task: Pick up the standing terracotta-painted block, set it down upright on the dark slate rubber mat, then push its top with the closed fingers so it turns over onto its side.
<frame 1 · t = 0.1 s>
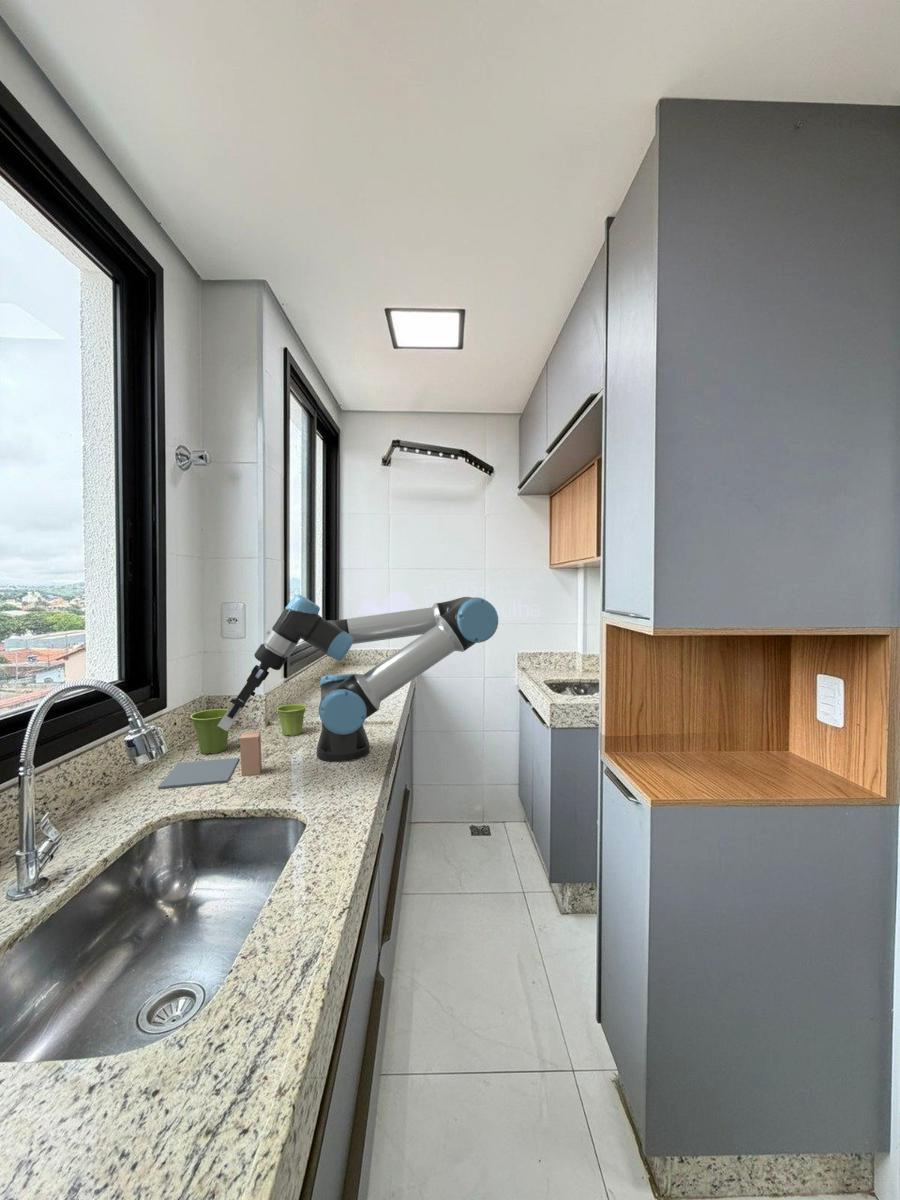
hand: (227, 721, 139), 15 cm above the countertop, tool tilted 35°, fingers open, 13 cm apart
plant pot 2: (213, 751, 164), on the countertop
plant pot: (292, 734, 181), on the countertop
mat: (201, 773, 145), on the countertop
block: (251, 772, 145), on the countertop
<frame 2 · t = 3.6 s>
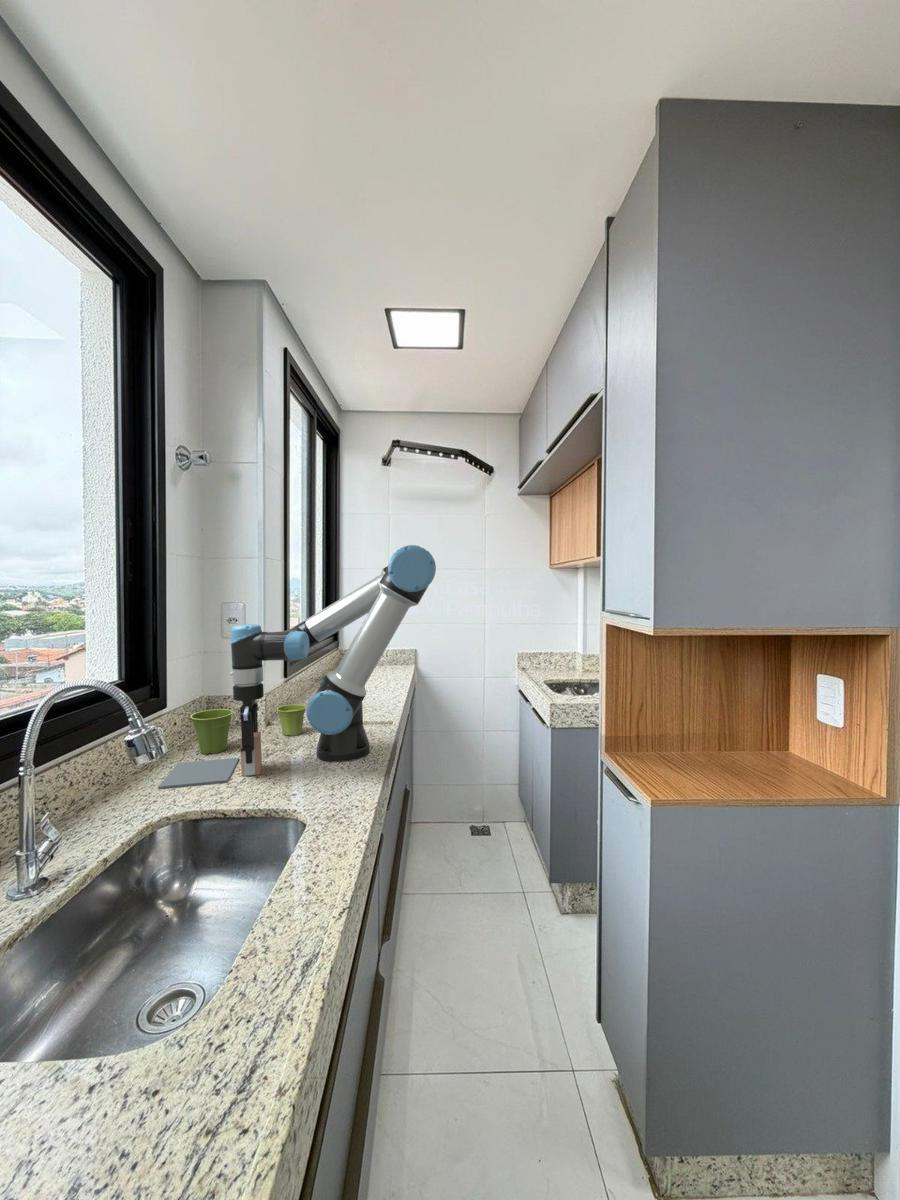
hand: (251, 771, 145), 0 cm above the countertop, tool pointing down, fingers closed on block, 4 cm apart
block: (251, 772, 145), on the countertop, touching gripper
everything else where it was.
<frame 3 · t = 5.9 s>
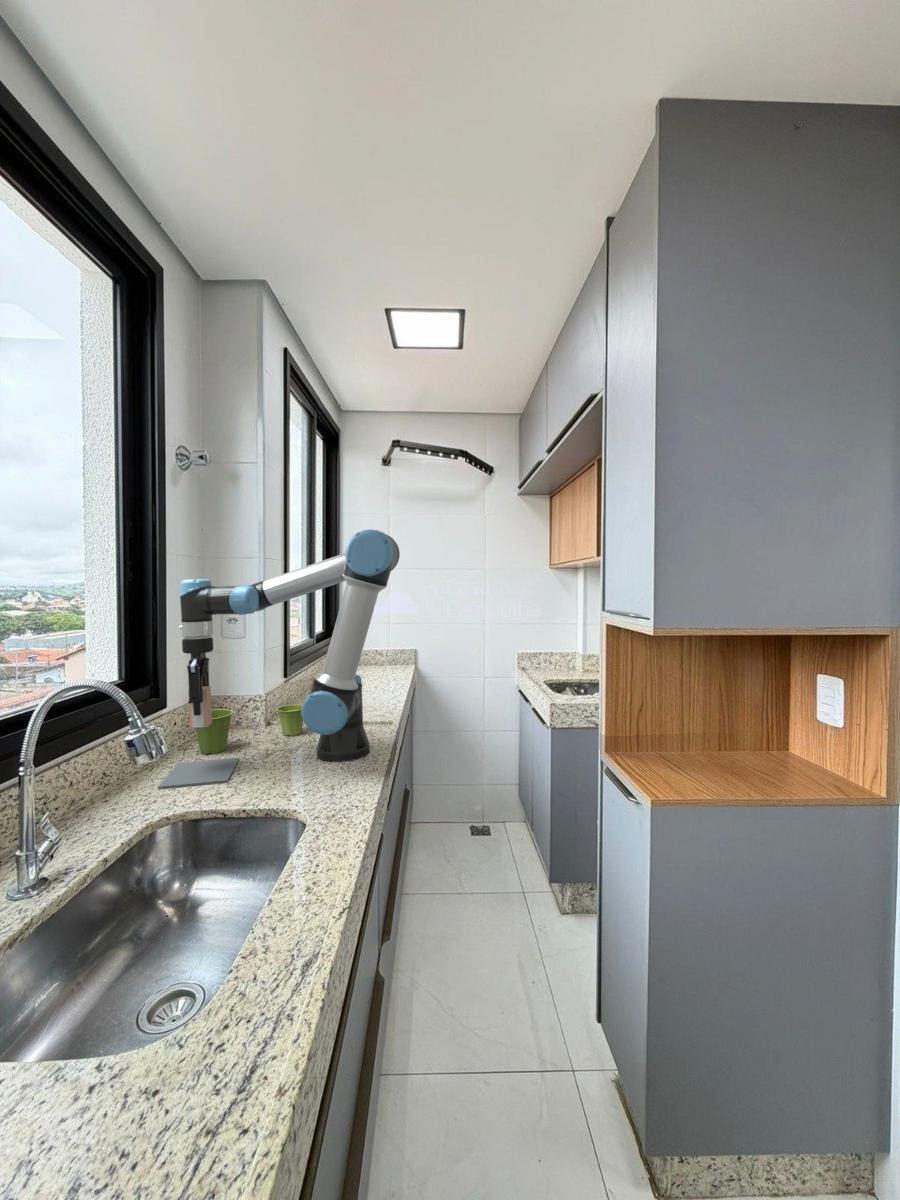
hand: (201, 724, 146), 13 cm above the countertop, tool pointing down, fingers closed on block, 4 cm apart
block: (201, 725, 146), point 12 cm above the countertop, touching gripper
everything else where it was.
when the fingers open (2 cm above the countertop, at t = 8.3 s): block drops 1 cm, resting on mat.
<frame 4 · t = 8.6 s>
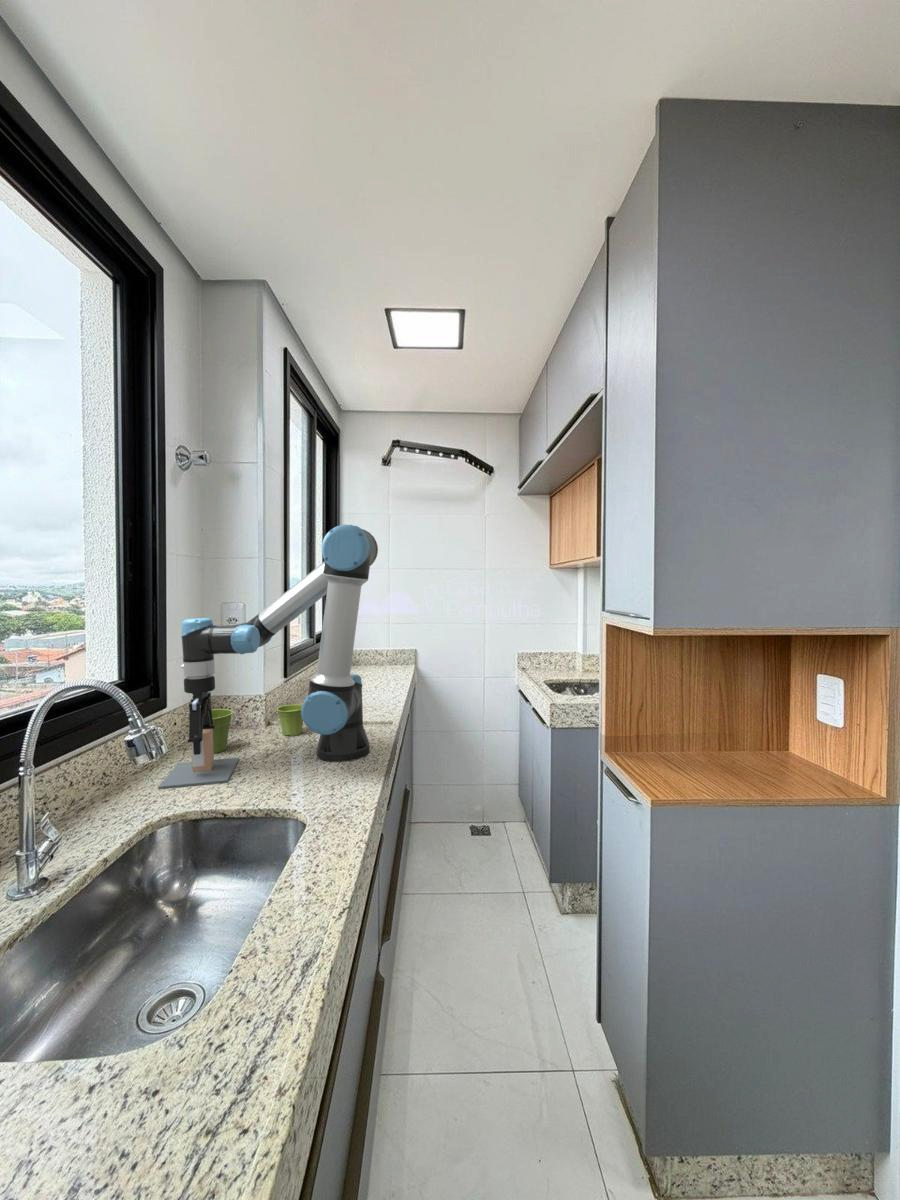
hand: (202, 759, 147), 3 cm above the countertop, tool pointing down, fingers open, 9 cm apart
block: (203, 768, 147), point 1 cm above the countertop, touching mat
everything else where it was.
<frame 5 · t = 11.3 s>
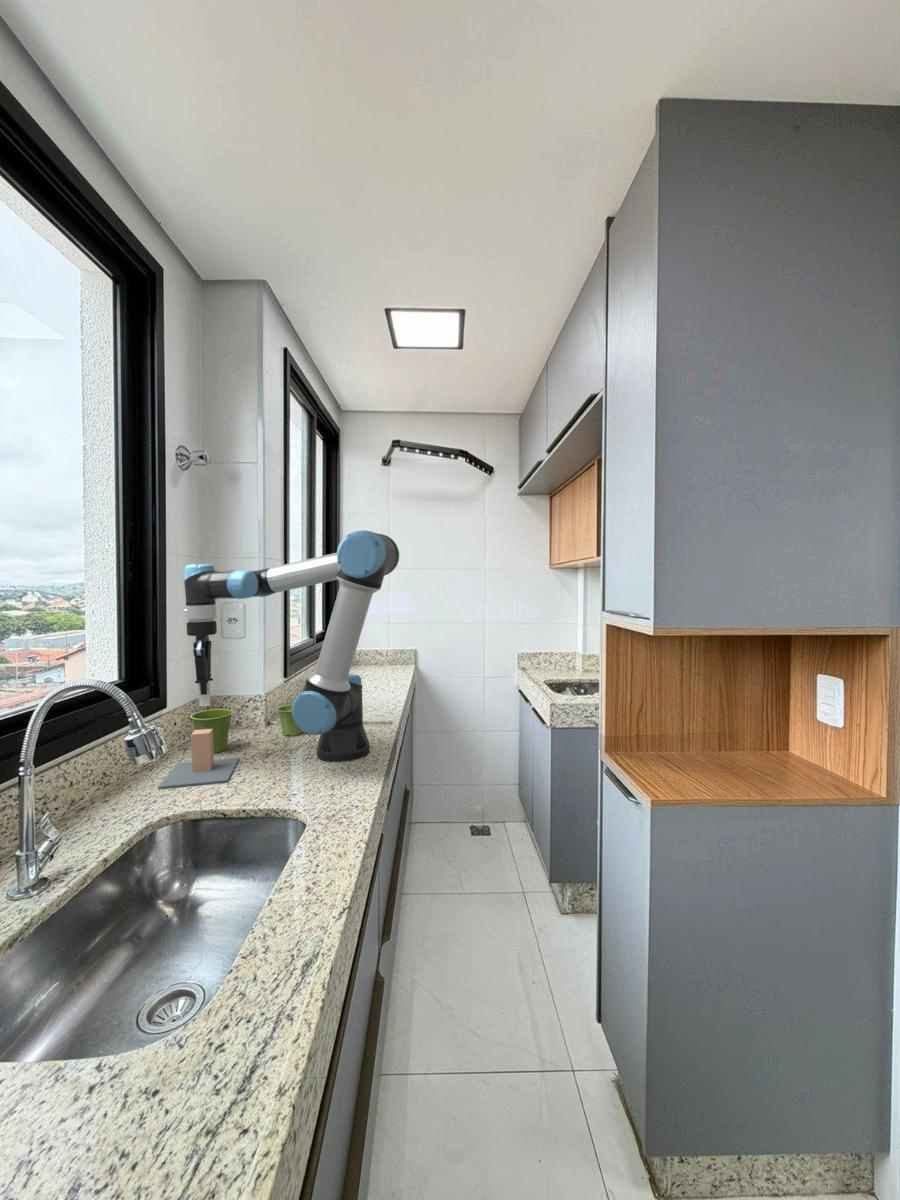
hand: (205, 705, 152), 16 cm above the countertop, tool pointing down, fingers closed
nothing on the countertop moved.
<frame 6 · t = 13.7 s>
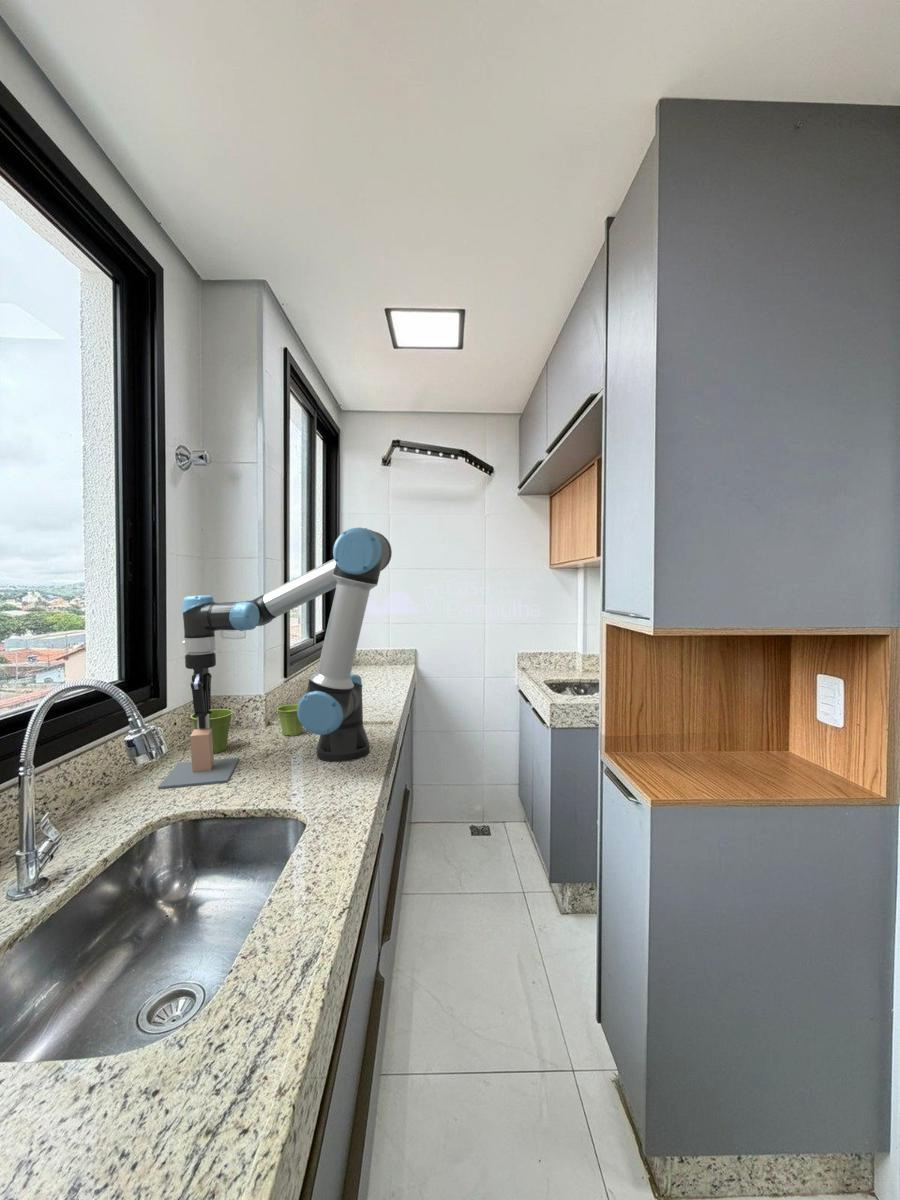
hand: (204, 739, 149), 8 cm above the countertop, tool pointing down, fingers closed
block: (203, 767, 147), point 1 cm above the countertop, tilted 6°, touching mat
everything else where it was.
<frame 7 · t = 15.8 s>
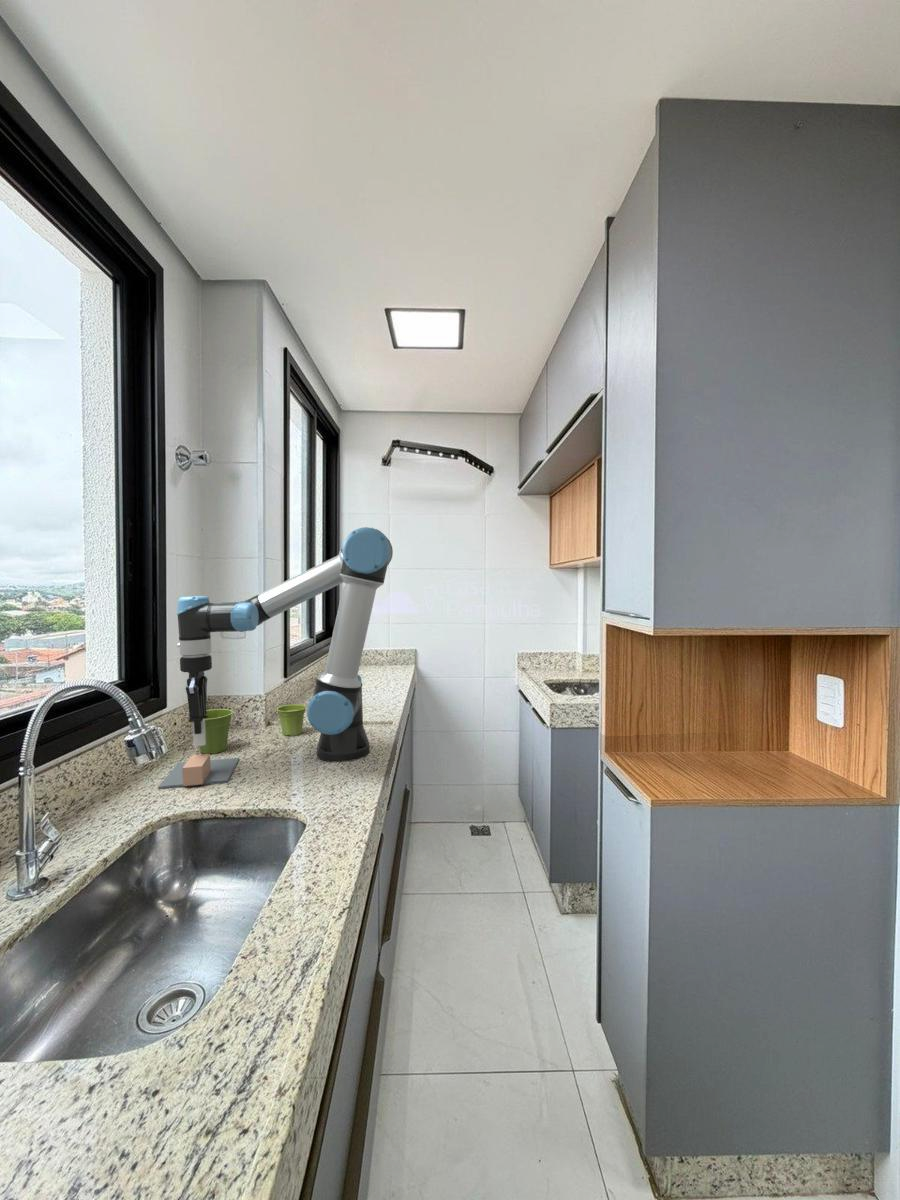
hand: (199, 744, 144), 8 cm above the countertop, tool pointing down, fingers closed
block: (201, 762, 145), point 3 cm above the countertop, tilted 90°, touching mat
everything else where it was.
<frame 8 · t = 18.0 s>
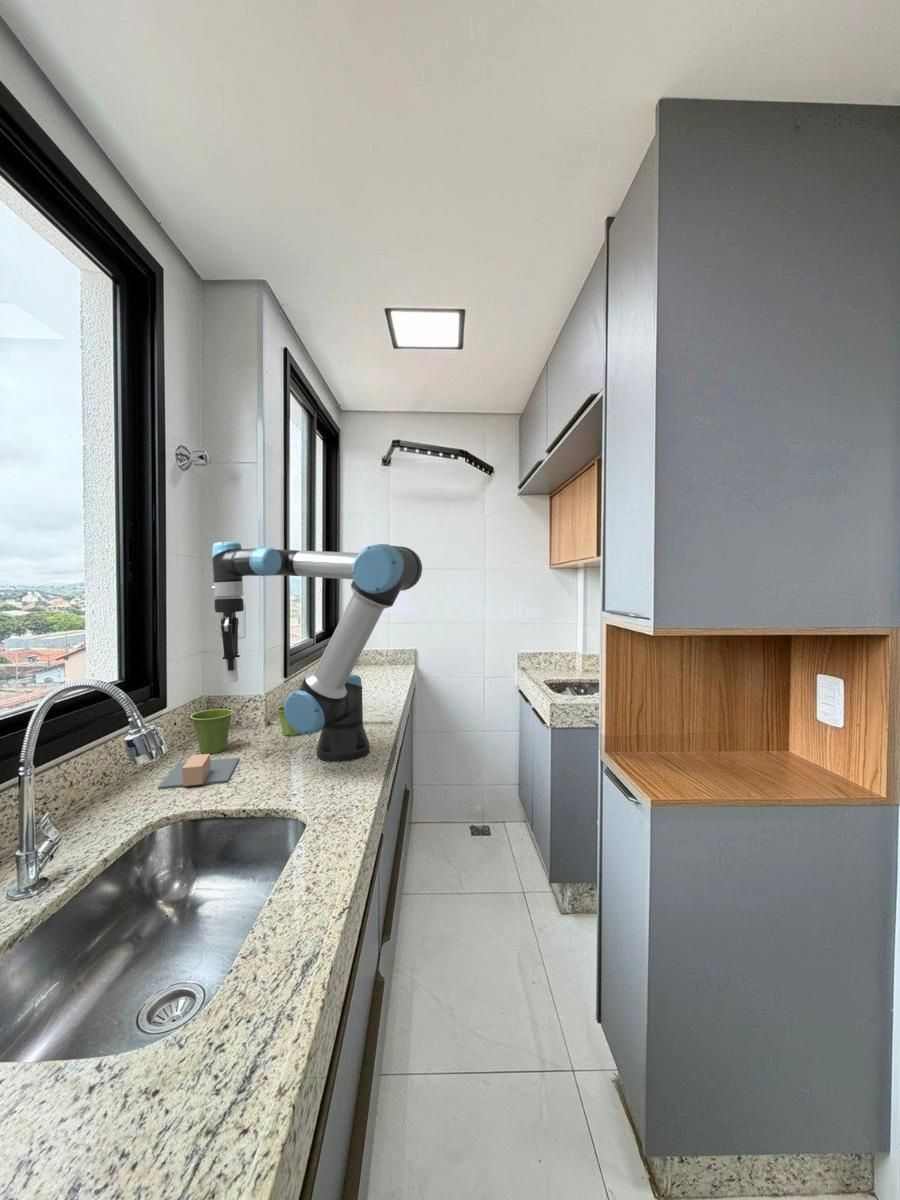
hand: (232, 681, 154), 22 cm above the countertop, tool pointing down, fingers closed
nothing on the countertop moved.
at the end: block tilted 90°; block 0.2 cm from the mat (horizontally); the gripper is holding nothing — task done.
